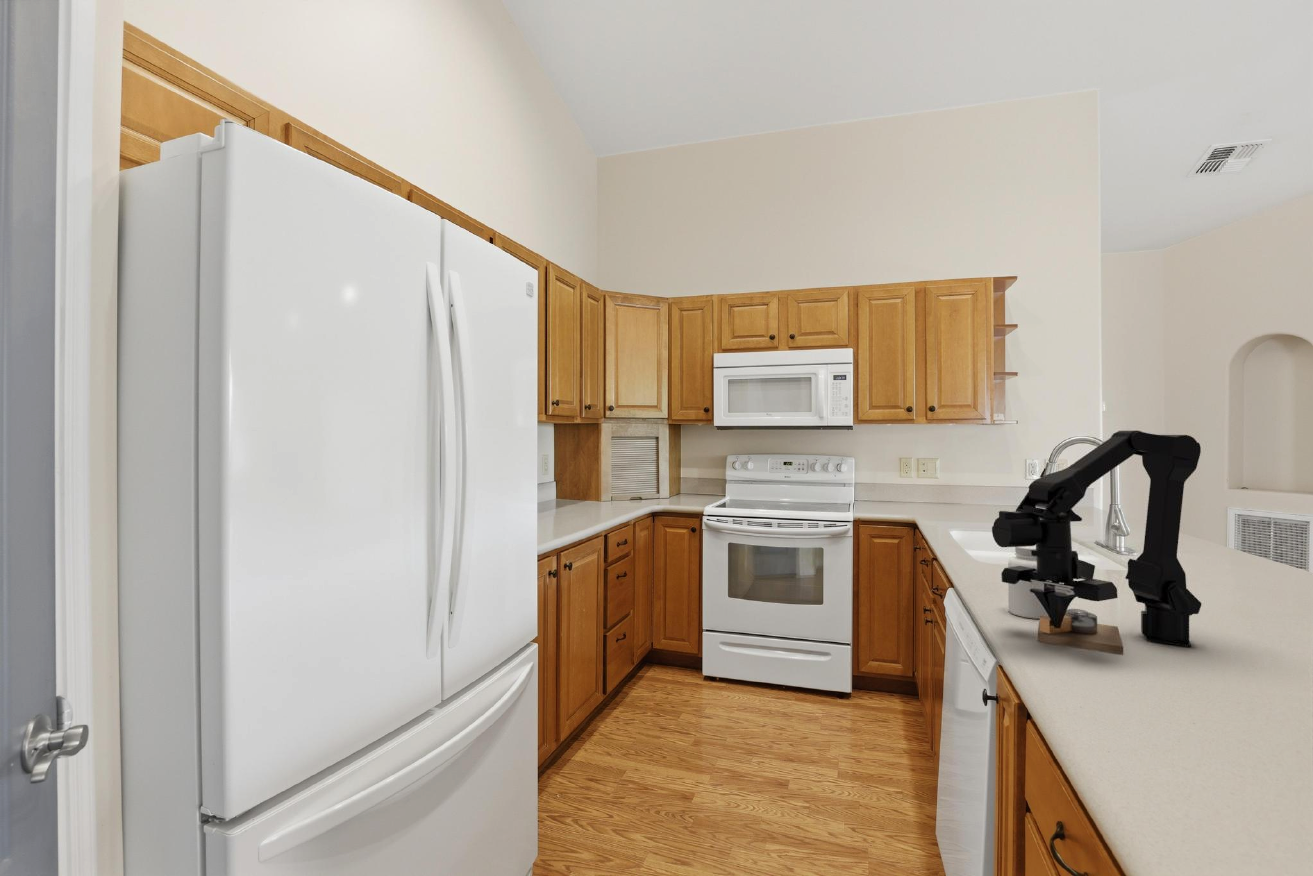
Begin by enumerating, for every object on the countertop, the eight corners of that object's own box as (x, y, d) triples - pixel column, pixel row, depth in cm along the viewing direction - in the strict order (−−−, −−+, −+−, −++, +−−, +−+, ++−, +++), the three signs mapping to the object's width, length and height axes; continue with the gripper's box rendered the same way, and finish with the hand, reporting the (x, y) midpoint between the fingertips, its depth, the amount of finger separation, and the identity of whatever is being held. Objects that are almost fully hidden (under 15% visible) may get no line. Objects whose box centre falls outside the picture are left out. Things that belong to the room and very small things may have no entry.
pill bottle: (1050, 612, 132) (1049, 545, 132) (1051, 622, 125) (1050, 551, 125) (1008, 606, 136) (1008, 542, 136) (1007, 616, 130) (1007, 548, 129)
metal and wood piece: (1075, 622, 120) (1075, 605, 120) (1105, 631, 114) (1105, 614, 114) (1030, 628, 116) (1030, 610, 116) (1059, 638, 111) (1059, 620, 111)
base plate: (1117, 634, 118) (1117, 625, 118) (1123, 654, 107) (1123, 644, 107) (1039, 622, 125) (1039, 614, 125) (1037, 641, 114) (1037, 631, 114)
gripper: (1135, 548, 107) (1139, 635, 106) (1036, 536, 124) (1039, 611, 124) (1094, 553, 103) (1098, 644, 102) (997, 540, 120) (1001, 617, 120)
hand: (1057, 627), depth 112 cm, fingers closed
